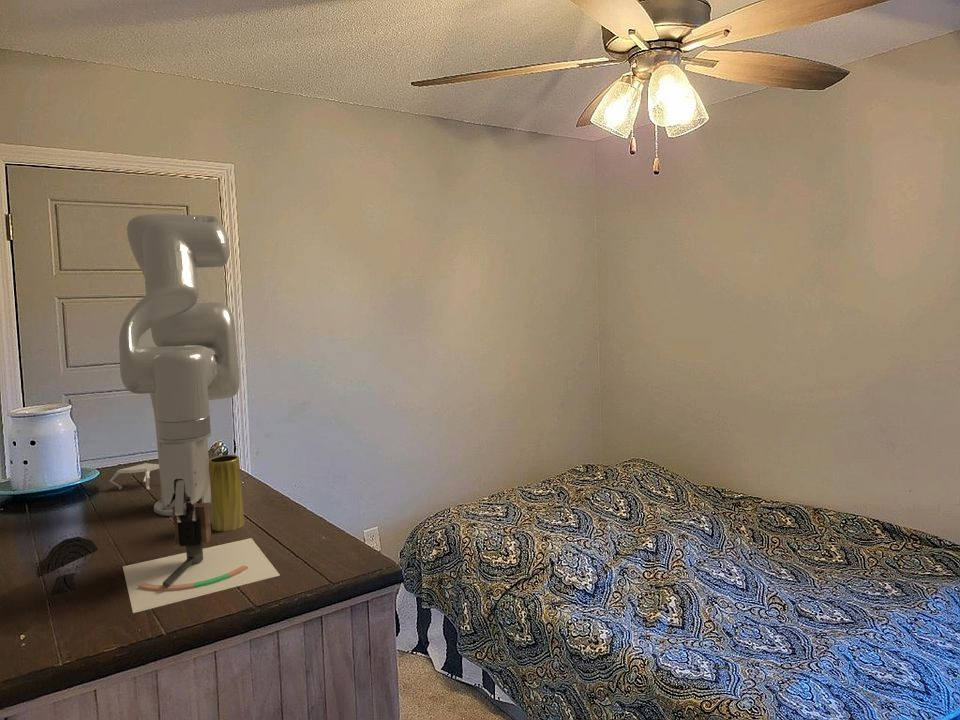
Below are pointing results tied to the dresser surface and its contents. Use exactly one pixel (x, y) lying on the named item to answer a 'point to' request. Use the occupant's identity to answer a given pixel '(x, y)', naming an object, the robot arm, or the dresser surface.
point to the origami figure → (138, 468)
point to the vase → (226, 493)
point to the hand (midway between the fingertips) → (193, 540)
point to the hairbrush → (66, 560)
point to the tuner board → (196, 574)
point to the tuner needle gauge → (192, 551)
